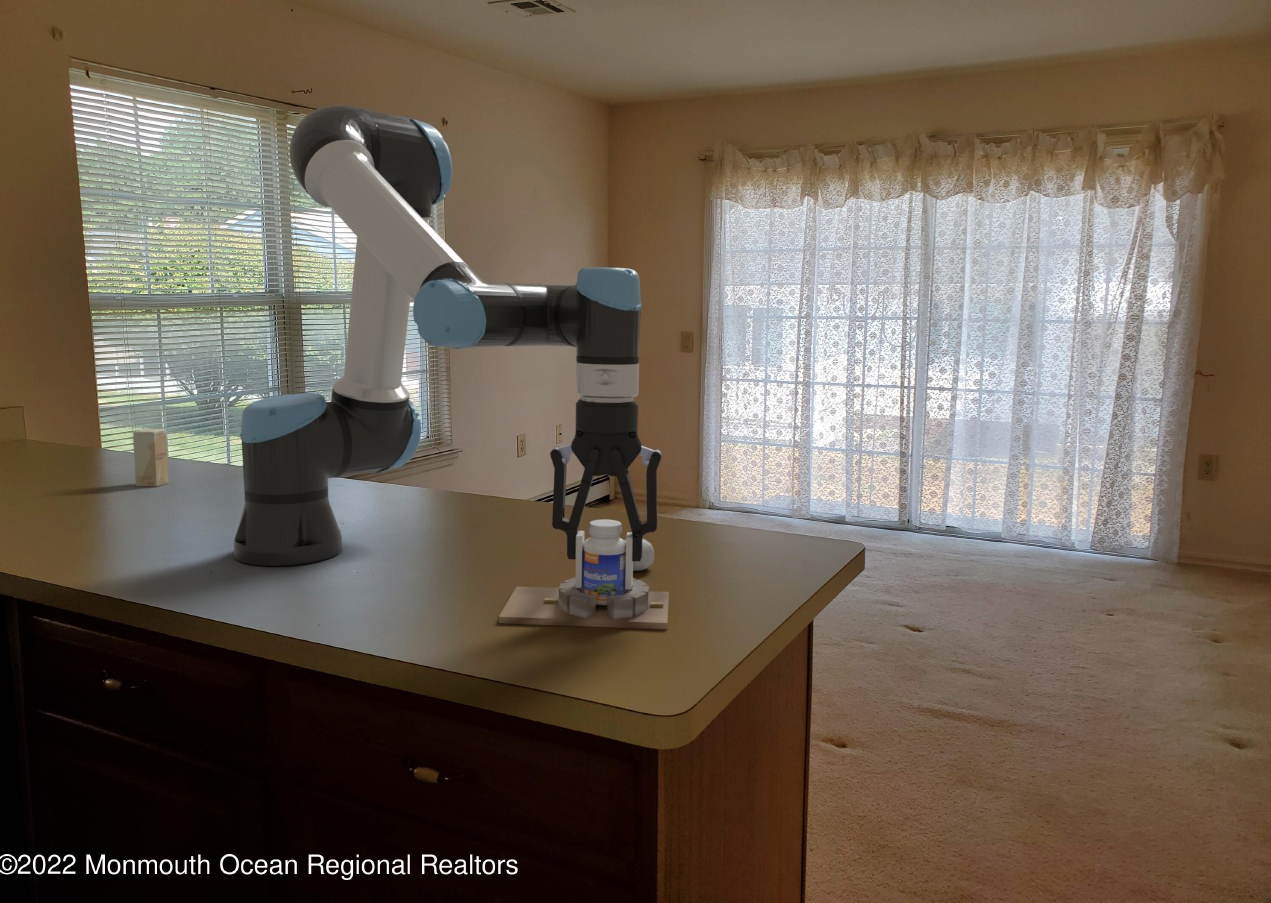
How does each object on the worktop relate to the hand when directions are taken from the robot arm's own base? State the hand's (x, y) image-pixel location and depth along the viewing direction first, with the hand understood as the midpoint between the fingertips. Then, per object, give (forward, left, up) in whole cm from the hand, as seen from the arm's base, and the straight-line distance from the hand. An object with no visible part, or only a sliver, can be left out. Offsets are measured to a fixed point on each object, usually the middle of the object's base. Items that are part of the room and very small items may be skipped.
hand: (604, 584), depth 114 cm
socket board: (-2, 0, -3) cm, 4 cm away
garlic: (+3, +19, -4) cm, 20 cm away
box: (-97, +68, -4) cm, 119 cm away
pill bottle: (0, 0, -2) cm, 2 cm away
